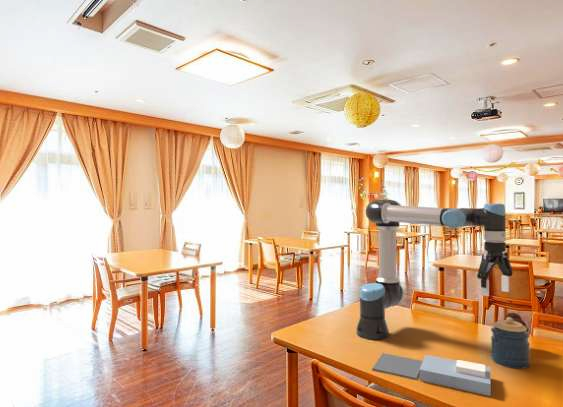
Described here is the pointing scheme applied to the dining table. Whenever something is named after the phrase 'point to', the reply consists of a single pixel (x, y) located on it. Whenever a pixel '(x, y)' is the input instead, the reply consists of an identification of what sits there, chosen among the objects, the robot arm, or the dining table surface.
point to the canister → (510, 344)
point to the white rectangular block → (470, 368)
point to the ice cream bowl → (516, 319)
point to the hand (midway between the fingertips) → (495, 293)
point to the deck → (453, 375)
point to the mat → (398, 366)
